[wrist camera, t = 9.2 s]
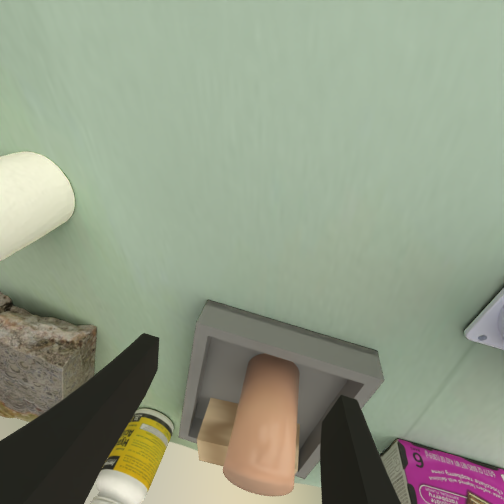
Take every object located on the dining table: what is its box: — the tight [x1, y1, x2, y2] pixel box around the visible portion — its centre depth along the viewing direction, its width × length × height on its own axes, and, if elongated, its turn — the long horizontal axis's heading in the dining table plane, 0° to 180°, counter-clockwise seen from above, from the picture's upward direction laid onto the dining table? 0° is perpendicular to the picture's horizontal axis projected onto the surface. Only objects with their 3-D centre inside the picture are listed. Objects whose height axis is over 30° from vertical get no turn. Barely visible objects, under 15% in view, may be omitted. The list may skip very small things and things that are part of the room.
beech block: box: [197, 398, 238, 466], centre depth 28 cm, size 4×4×4 cm
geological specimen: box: [0, 292, 97, 422], centre depth 29 cm, size 11×6×15 cm
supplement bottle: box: [90, 408, 174, 504], centre depth 30 cm, size 5×5×10 cm
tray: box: [179, 300, 384, 479], centre depth 26 cm, size 14×18×3 cm
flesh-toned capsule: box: [223, 353, 300, 496], centre depth 21 cm, size 5×5×8 cm
